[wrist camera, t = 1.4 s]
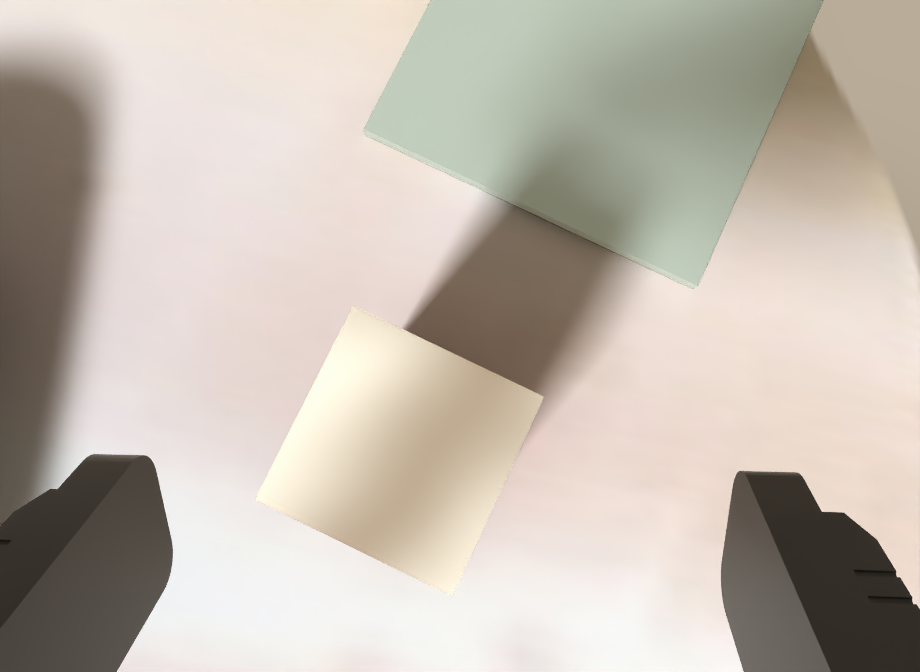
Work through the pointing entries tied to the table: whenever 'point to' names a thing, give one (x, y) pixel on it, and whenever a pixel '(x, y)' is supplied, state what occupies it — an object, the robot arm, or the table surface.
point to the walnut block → (401, 450)
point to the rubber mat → (599, 111)
